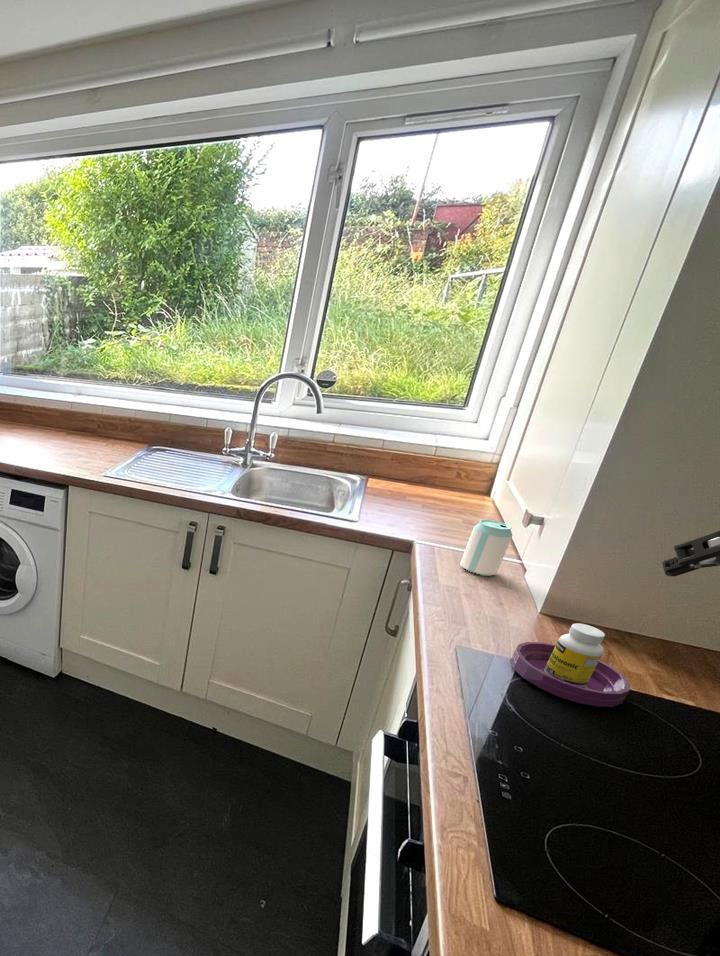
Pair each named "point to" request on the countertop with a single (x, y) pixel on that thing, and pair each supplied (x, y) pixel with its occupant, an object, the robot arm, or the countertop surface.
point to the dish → (599, 691)
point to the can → (486, 547)
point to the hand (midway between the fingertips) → (703, 573)
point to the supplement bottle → (576, 655)
